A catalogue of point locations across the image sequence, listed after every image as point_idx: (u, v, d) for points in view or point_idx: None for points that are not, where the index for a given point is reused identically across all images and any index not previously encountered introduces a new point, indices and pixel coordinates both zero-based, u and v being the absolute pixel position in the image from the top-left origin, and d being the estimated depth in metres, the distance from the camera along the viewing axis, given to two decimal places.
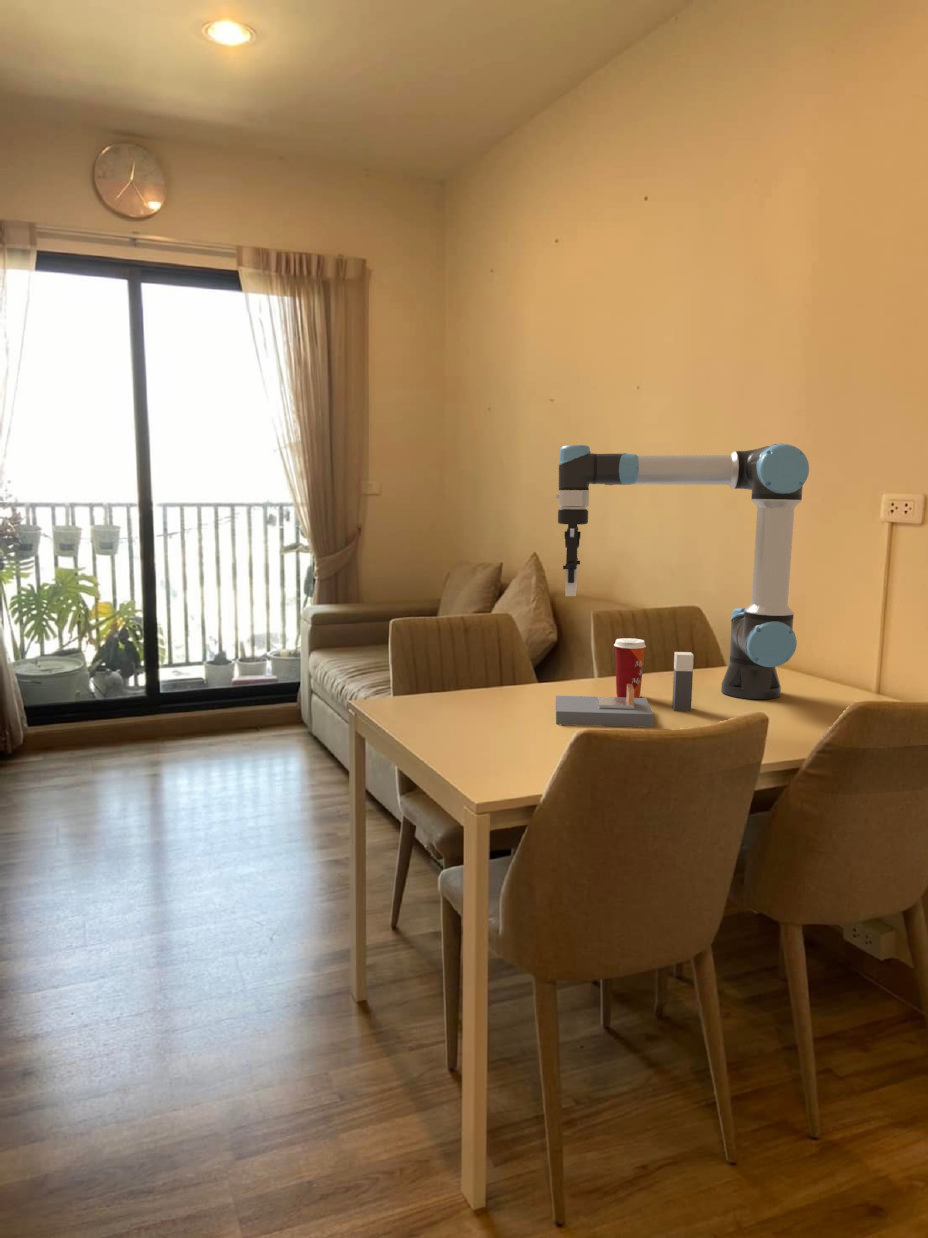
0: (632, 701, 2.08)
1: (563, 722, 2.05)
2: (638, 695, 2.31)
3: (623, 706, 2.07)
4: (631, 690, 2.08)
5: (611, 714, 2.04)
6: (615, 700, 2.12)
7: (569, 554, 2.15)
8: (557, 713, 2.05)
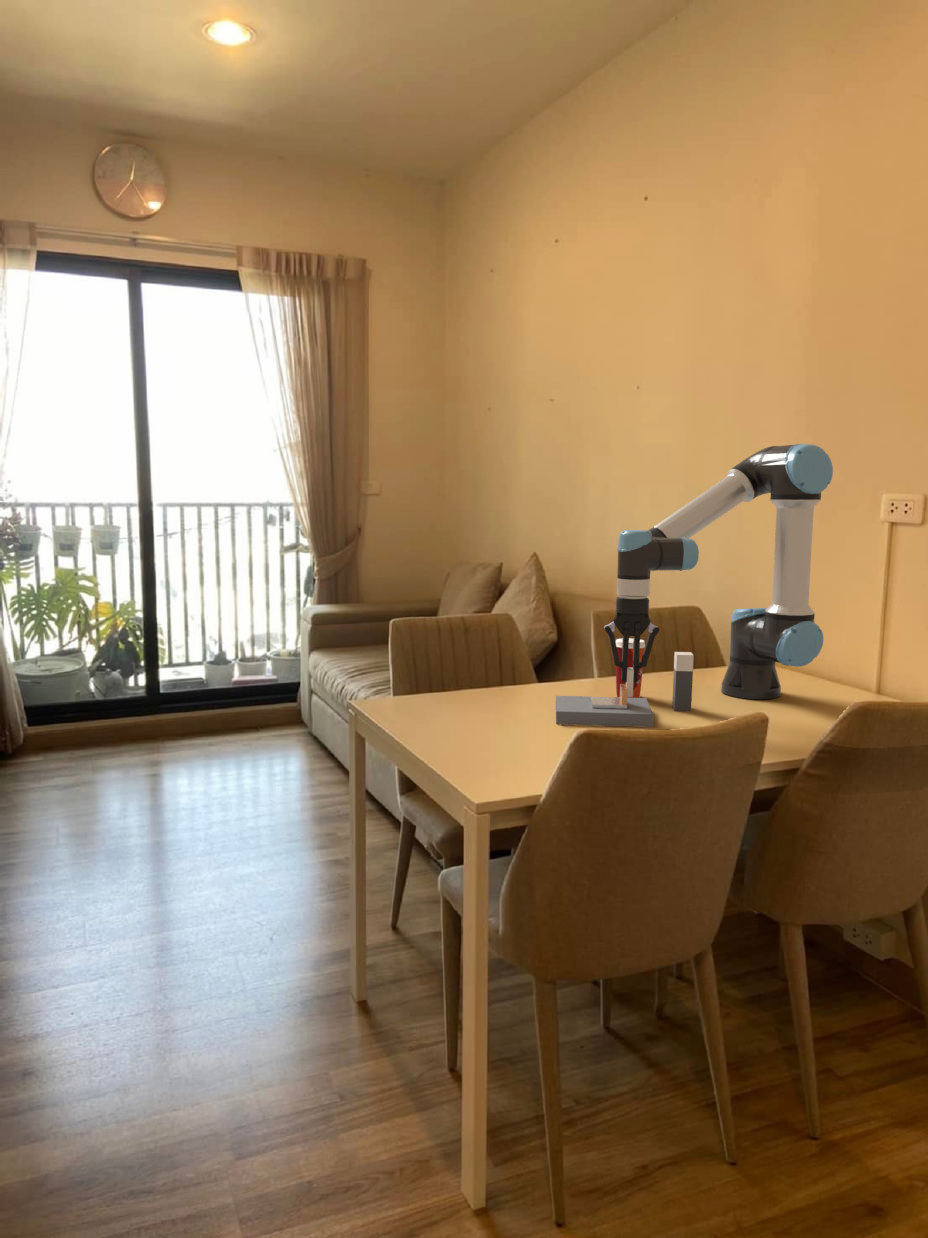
0: (625, 701, 2.08)
1: (563, 722, 2.05)
2: (638, 695, 2.31)
3: (616, 706, 2.07)
4: (624, 690, 2.08)
5: (611, 714, 2.04)
6: (608, 700, 2.12)
7: (612, 652, 2.10)
8: (557, 713, 2.05)
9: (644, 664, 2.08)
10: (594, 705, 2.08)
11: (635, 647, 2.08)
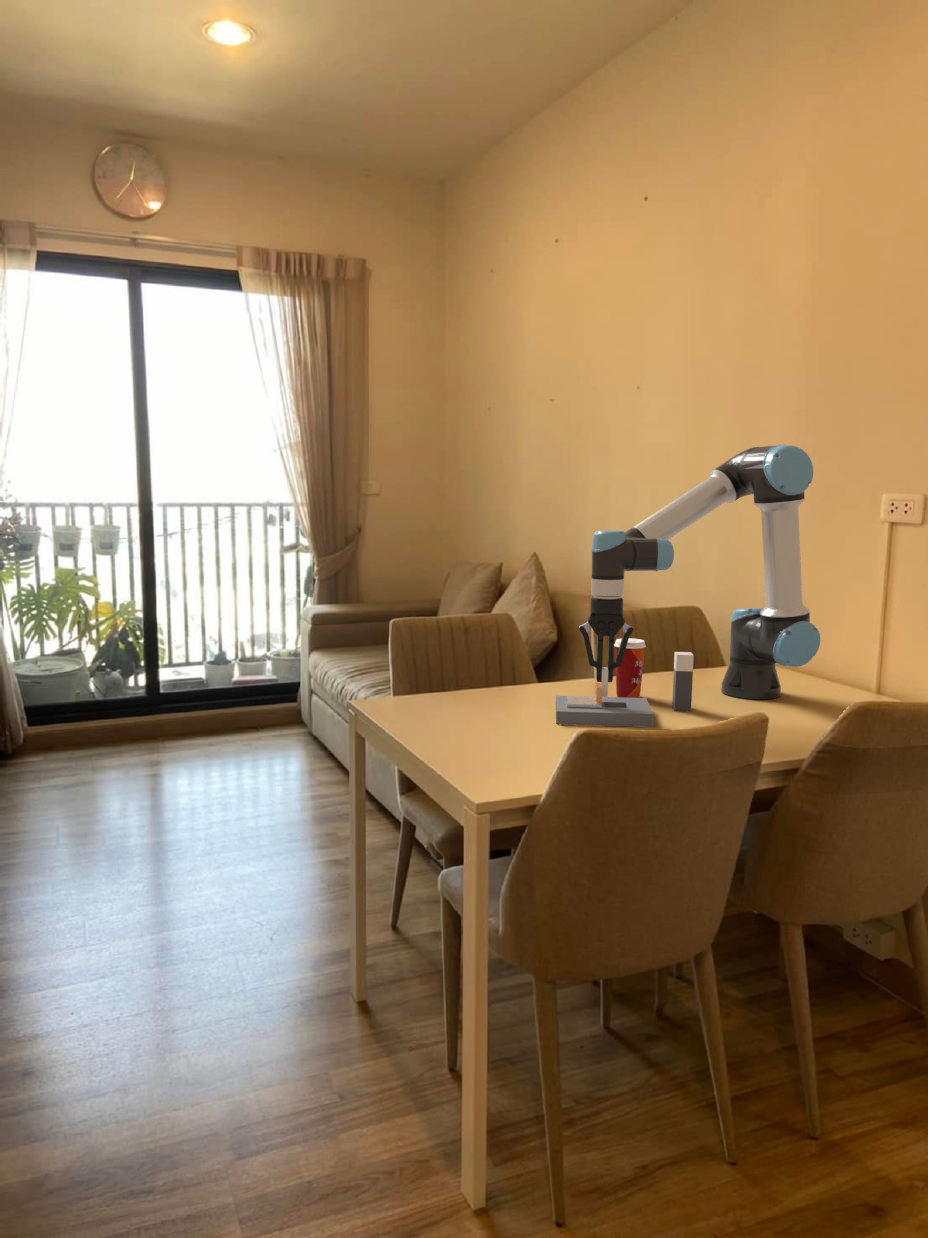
0: (600, 700, 2.09)
1: (563, 722, 2.05)
2: (638, 695, 2.31)
3: (591, 705, 2.08)
4: (599, 689, 2.08)
5: (611, 714, 2.04)
6: (583, 699, 2.13)
7: None
8: (557, 713, 2.05)
9: (618, 664, 2.09)
10: (569, 704, 2.08)
11: (609, 647, 2.08)
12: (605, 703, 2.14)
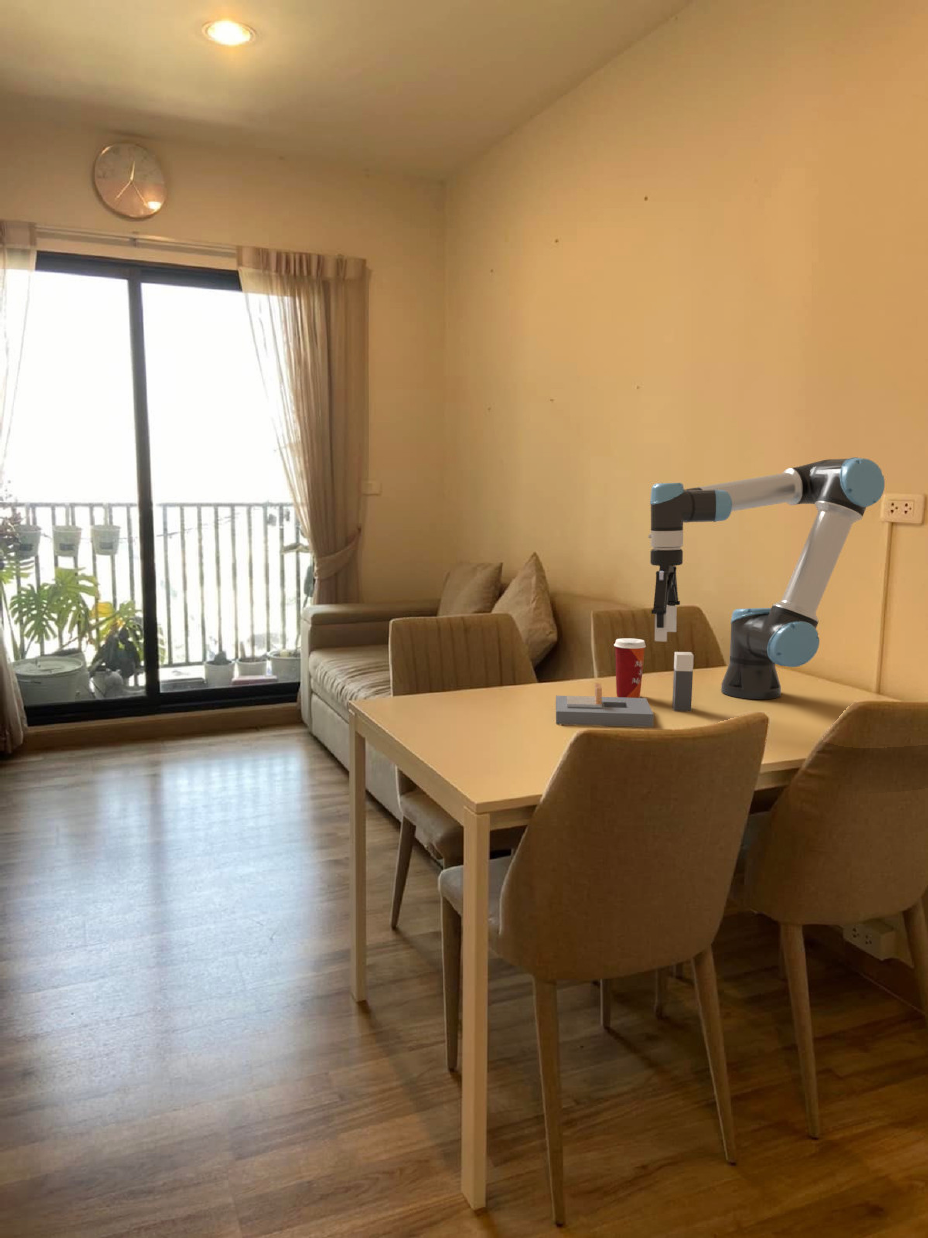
0: (600, 700, 2.09)
1: (563, 722, 2.05)
2: (638, 695, 2.31)
3: (591, 705, 2.08)
4: (599, 689, 2.08)
5: (611, 714, 2.04)
6: (583, 699, 2.13)
7: (657, 598, 2.06)
8: (557, 713, 2.05)
9: (677, 598, 2.22)
10: (569, 704, 2.08)
11: (674, 591, 2.17)
12: (605, 703, 2.14)
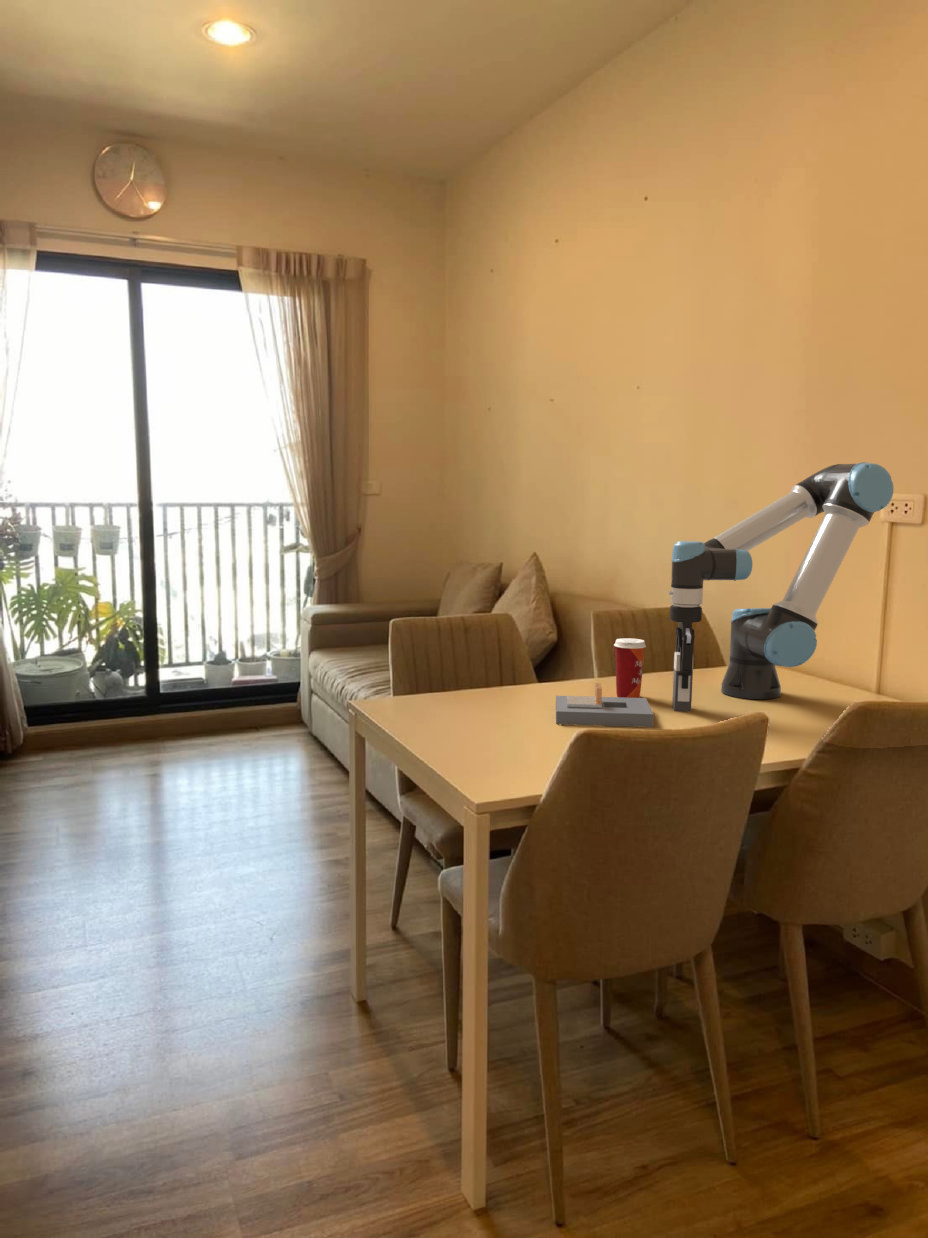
0: (600, 700, 2.09)
1: (563, 722, 2.05)
2: (638, 695, 2.31)
3: (591, 705, 2.08)
4: (599, 689, 2.08)
5: (611, 714, 2.04)
6: (583, 699, 2.13)
7: (685, 662, 2.13)
8: (557, 713, 2.05)
9: None
10: (569, 704, 2.08)
11: None
12: (605, 703, 2.14)
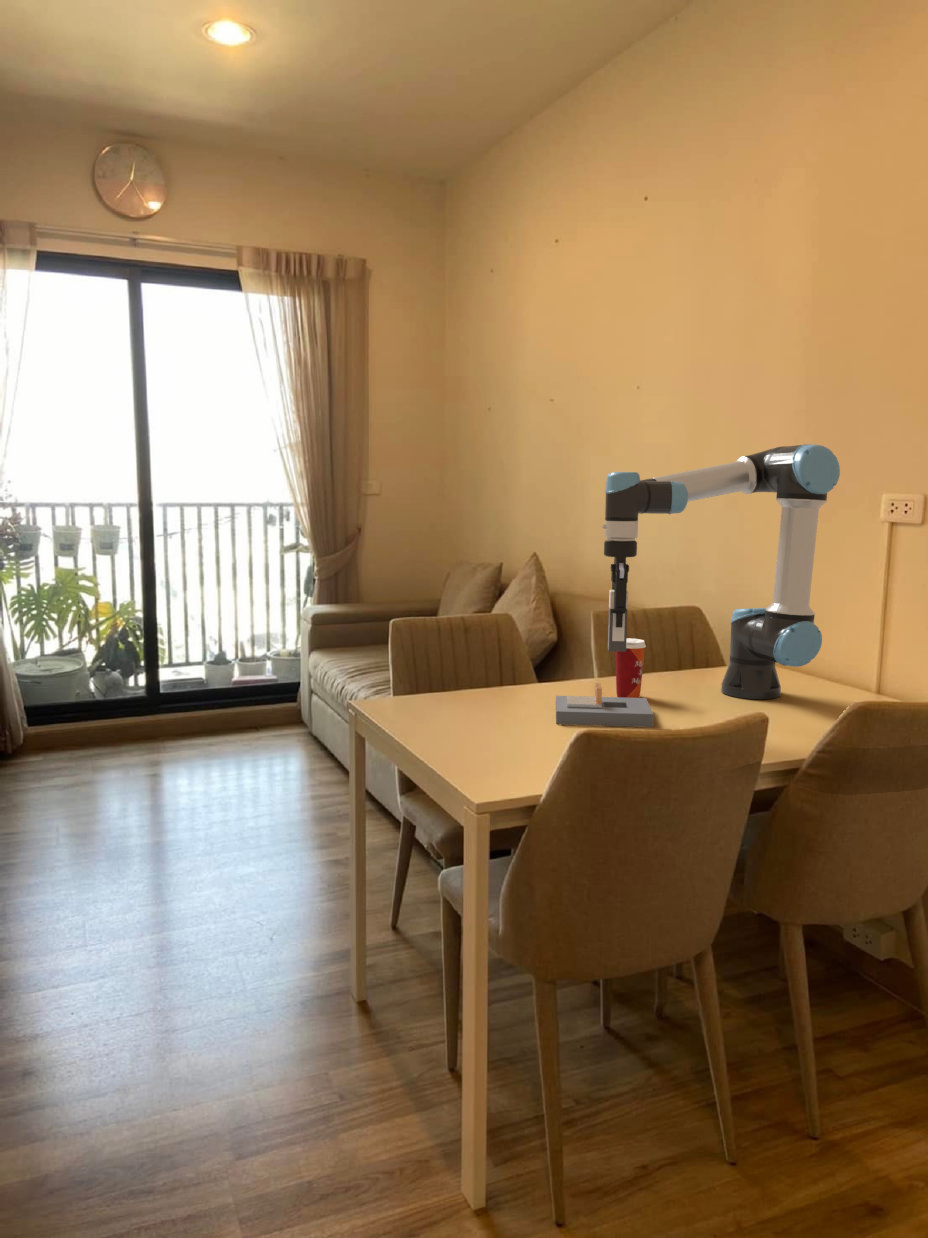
0: (600, 700, 2.09)
1: (563, 722, 2.05)
2: (638, 695, 2.31)
3: (591, 705, 2.08)
4: (599, 689, 2.08)
5: (611, 714, 2.04)
6: (583, 699, 2.13)
7: (618, 598, 2.02)
8: (557, 713, 2.05)
9: None
10: (569, 704, 2.08)
11: None
12: (605, 703, 2.14)
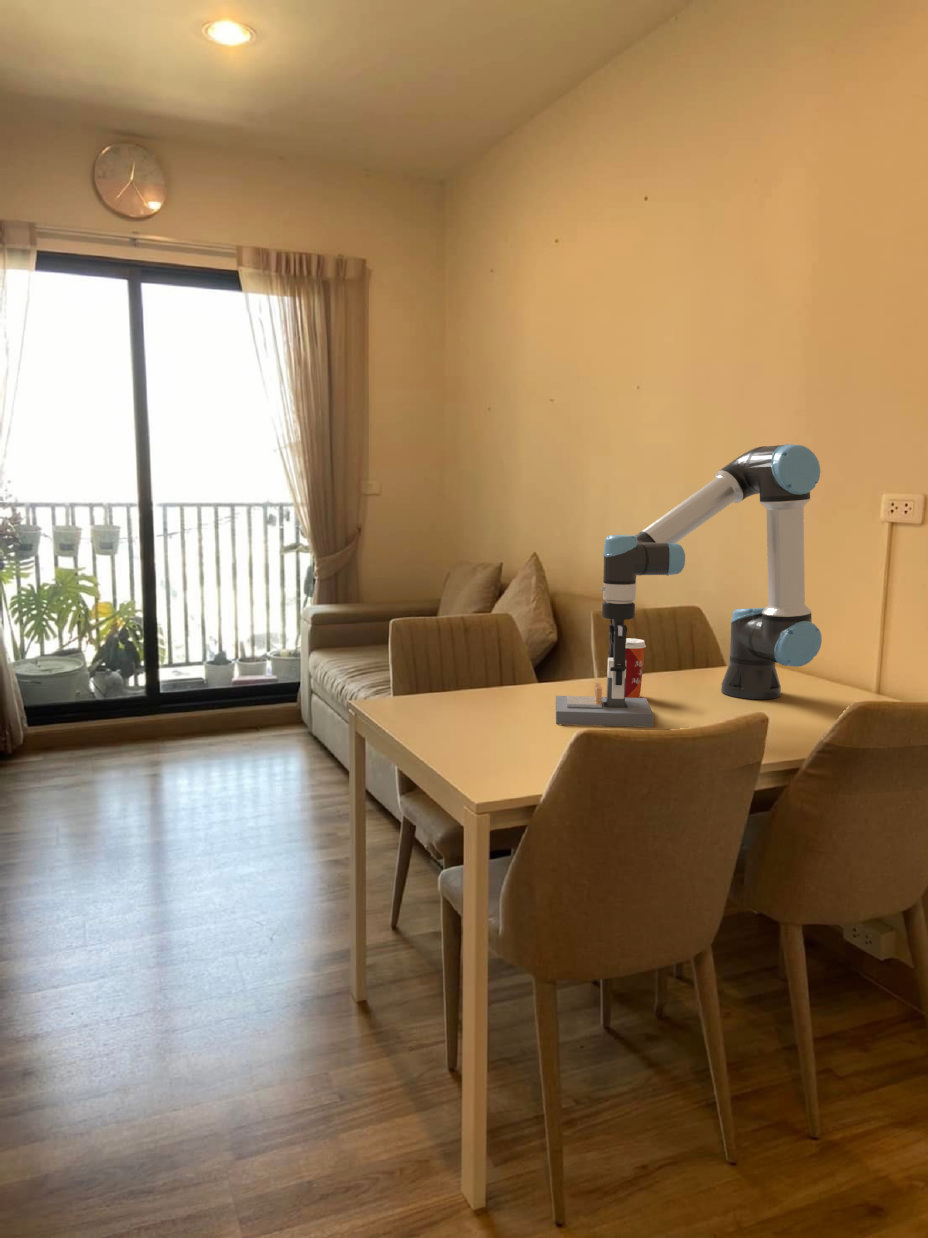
0: (600, 700, 2.09)
1: (563, 722, 2.05)
2: (638, 695, 2.31)
3: (591, 705, 2.08)
4: (599, 689, 2.08)
5: (611, 714, 2.04)
6: (583, 699, 2.13)
7: (618, 655, 2.01)
8: (557, 713, 2.05)
9: None
10: (569, 704, 2.08)
11: None
12: (605, 703, 2.14)
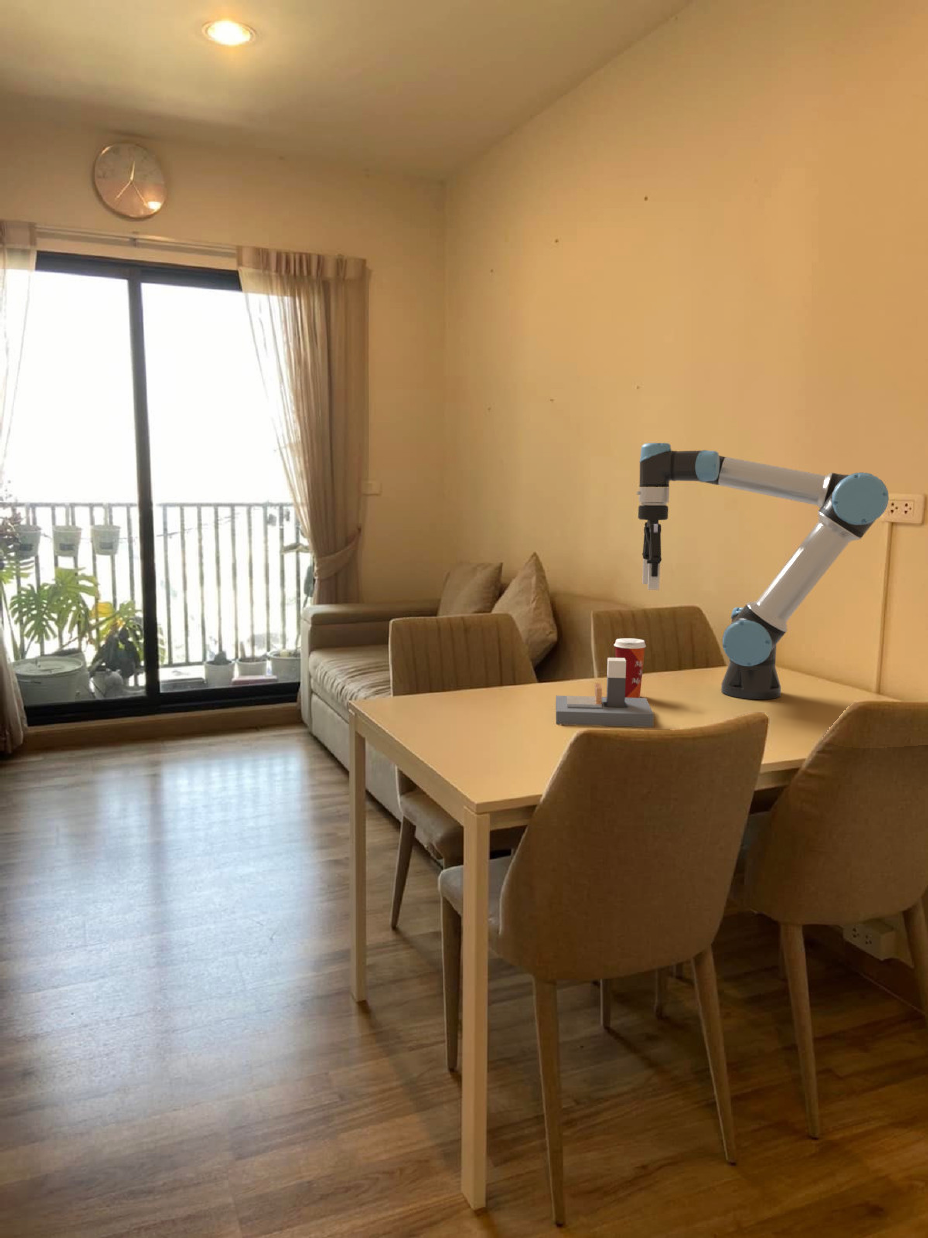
0: (600, 700, 2.09)
1: (563, 722, 2.05)
2: (638, 695, 2.31)
3: (591, 705, 2.08)
4: (599, 689, 2.08)
5: (611, 714, 2.04)
6: (583, 699, 2.13)
7: (654, 549, 2.21)
8: (557, 713, 2.05)
9: None
10: (569, 704, 2.08)
11: None
12: (605, 703, 2.14)
